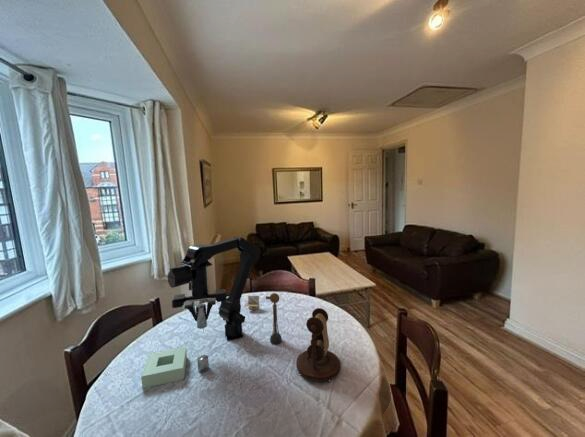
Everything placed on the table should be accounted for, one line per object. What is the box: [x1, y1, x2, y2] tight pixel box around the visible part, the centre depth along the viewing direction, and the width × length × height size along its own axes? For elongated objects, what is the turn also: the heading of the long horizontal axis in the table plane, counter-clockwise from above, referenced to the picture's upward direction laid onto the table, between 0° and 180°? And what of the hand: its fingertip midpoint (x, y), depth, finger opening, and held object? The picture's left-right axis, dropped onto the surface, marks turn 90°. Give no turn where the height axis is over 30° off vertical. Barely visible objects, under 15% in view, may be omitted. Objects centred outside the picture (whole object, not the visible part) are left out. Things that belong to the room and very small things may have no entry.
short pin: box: [196, 354, 210, 374], centre depth 90 cm, size 4×4×4 cm
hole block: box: [141, 346, 188, 389], centre depth 89 cm, size 12×12×4 cm
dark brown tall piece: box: [295, 307, 342, 382], centre depth 87 cm, size 15×15×20 cm
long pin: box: [195, 303, 208, 330], centre depth 98 cm, size 4×4×8 cm
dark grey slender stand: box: [265, 292, 283, 346], centre depth 104 cm, size 6×5×20 cm
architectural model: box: [244, 295, 261, 311], centre depth 132 cm, size 3×7×7 cm, turn 86°
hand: (201, 319), depth 99 cm, fingers closed on long pin, 3 cm apart
